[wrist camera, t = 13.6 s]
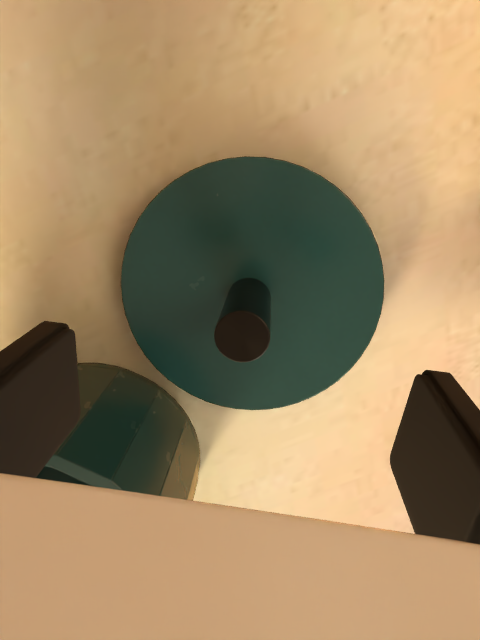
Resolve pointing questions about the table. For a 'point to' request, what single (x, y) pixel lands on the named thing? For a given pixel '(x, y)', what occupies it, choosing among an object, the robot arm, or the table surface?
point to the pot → (127, 437)
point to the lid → (252, 283)
